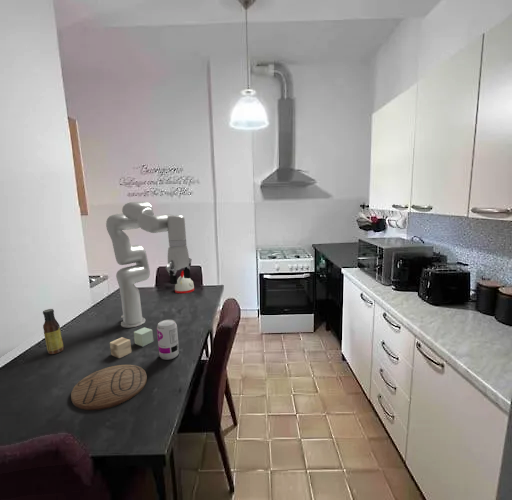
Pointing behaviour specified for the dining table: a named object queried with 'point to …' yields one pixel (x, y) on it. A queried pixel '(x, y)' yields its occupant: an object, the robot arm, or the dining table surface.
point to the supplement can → (167, 339)
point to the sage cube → (143, 336)
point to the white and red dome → (184, 284)
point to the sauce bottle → (52, 332)
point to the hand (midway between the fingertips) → (180, 280)
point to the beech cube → (120, 347)
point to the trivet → (108, 387)
